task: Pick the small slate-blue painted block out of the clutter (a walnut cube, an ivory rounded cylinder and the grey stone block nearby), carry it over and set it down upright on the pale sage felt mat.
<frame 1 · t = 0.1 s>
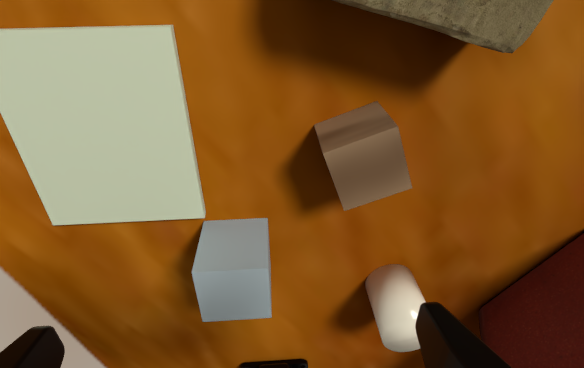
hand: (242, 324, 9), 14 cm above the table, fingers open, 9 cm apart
slate-blue block: (238, 243, 26), on the table
felt mat: (107, 135, 21), on the table
walnut cube: (353, 140, 22), on the table
plant pot: (568, 292, 32), on the table
ivory rounded cylinder: (389, 281, 29), on the table
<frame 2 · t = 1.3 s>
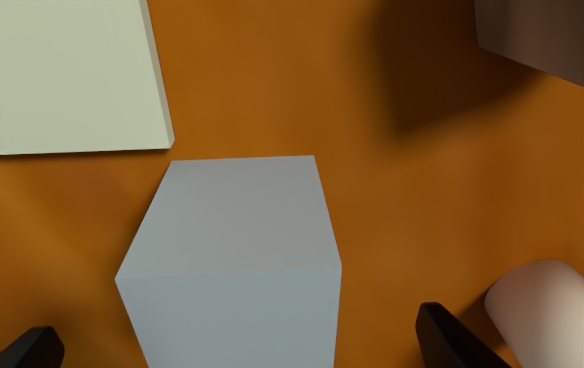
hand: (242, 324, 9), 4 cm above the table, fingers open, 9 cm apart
slate-blue block: (248, 214, 12), on the table
ivory rounded cylinder: (529, 292, 16), on the table
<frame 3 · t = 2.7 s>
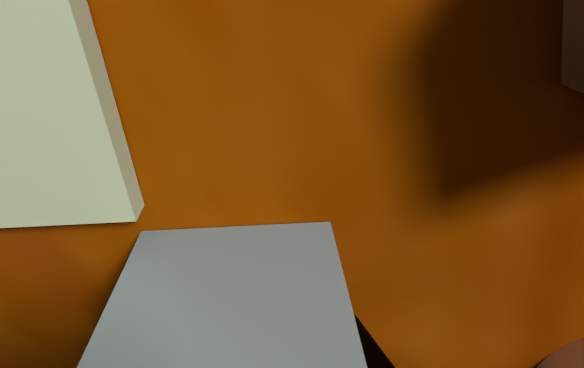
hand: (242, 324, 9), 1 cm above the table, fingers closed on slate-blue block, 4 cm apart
slate-blue block: (244, 291, 10), on the table, touching gripper
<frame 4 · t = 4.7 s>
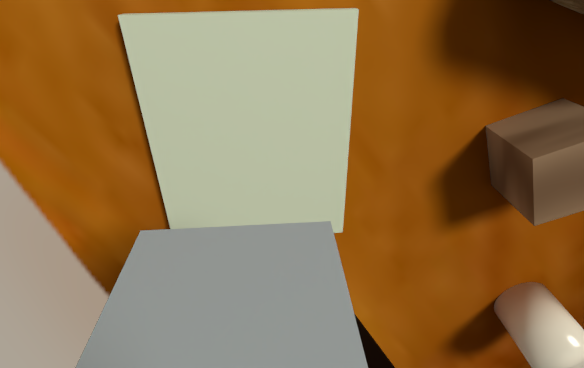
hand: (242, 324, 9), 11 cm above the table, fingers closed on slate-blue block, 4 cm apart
slate-blue block: (244, 291, 10), point 10 cm above the table, touching gripper
felt mat: (251, 139, 18), on the table
walnut cube: (523, 143, 20), on the table
ivory rounded cylinder: (520, 301, 26), on the table
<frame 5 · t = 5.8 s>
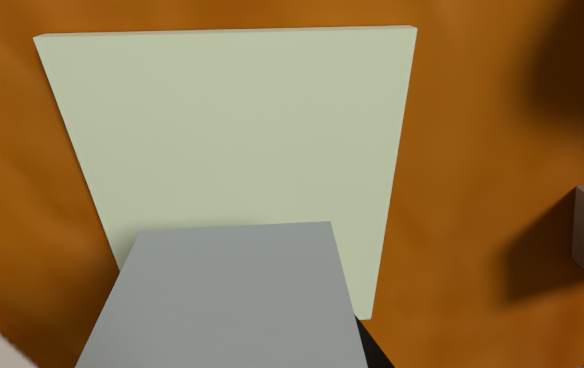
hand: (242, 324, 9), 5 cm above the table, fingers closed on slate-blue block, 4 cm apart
slate-blue block: (244, 291, 10), point 4 cm above the table, touching gripper
felt mat: (248, 206, 13), on the table
when the fingers open (3 cm above the table, at t = 6.6 s): slate-blue block stays where it is, resting on felt mat.
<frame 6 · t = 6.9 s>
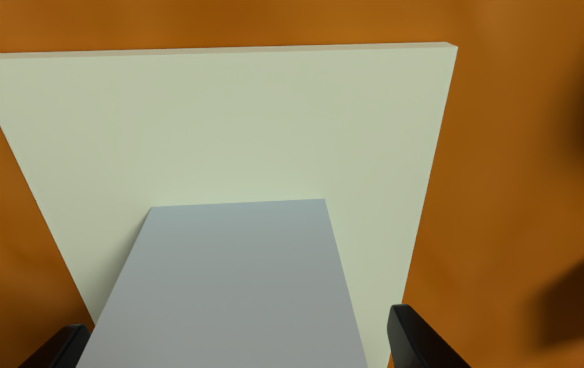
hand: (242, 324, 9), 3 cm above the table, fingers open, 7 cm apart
slate-blue block: (246, 265, 10), point 1 cm above the table, touching felt mat
felt mat: (246, 251, 11), on the table
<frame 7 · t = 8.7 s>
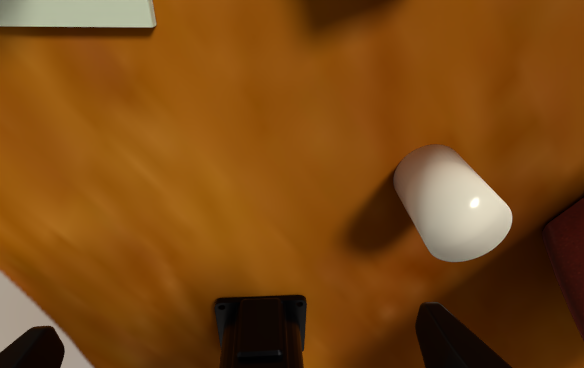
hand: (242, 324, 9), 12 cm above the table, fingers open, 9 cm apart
ivory rounded cylinder: (427, 175, 21), on the table
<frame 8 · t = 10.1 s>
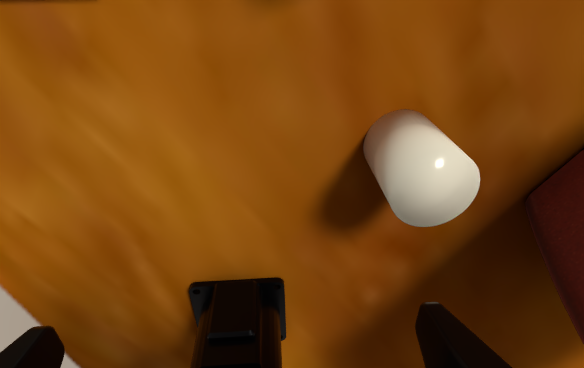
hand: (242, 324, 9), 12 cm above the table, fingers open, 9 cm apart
ivory rounded cylinder: (398, 143, 20), on the table
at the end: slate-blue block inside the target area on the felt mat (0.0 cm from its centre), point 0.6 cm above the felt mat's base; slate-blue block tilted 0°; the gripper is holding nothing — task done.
